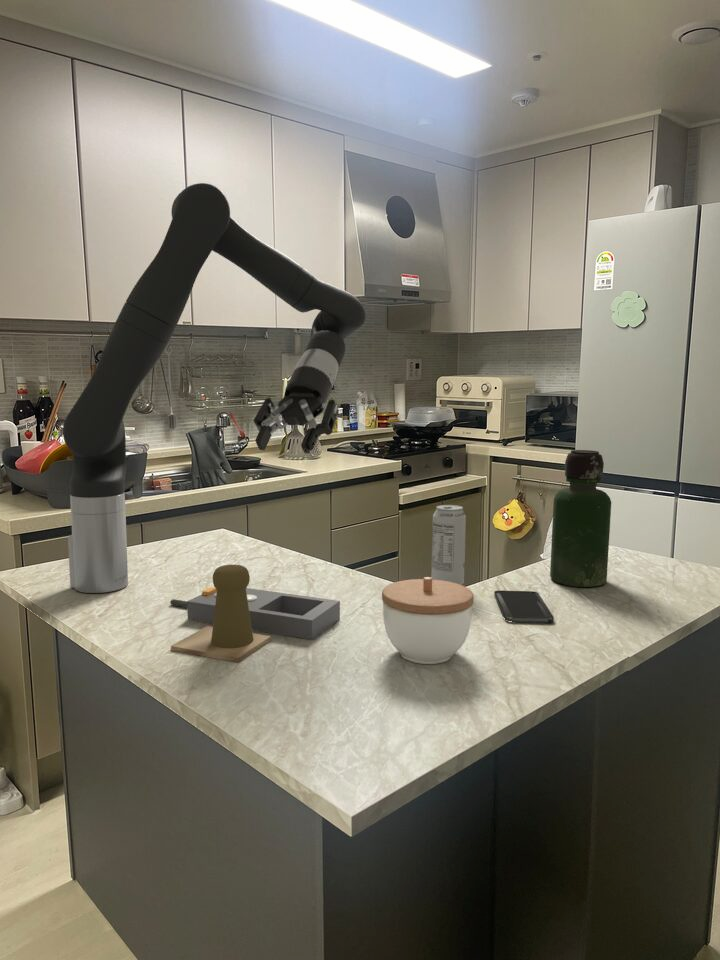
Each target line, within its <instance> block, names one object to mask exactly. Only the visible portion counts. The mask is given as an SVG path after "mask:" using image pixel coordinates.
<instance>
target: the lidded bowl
mask: <svg viewBox="0 0 720 960" xmlns="http://www.w3.org/2000/svg"><path fill="white" fill-rule="evenodd" d="M474 596H475V595H474V593H473V591H472V590H471V589H470V588H469V587H466V586H465V585H463V584H462V585H460V584H456V583H453V582H448V581H442V580H432V578H431V576H424V577H423V578H417V579H416V578H414V579H413V578H412V579H405V580H399V581H396V582H392V583H390V584H388V585H386V586H384V587H383V589H382V591H381V600H382V616H383V625H384V629H385V633H386V636H387V638H388V639H389V641H390V643H391V644H392V646H393V647H394V648H395V649H396V650H397V651H398V652H399V653H400V656H401V657H402V658H403V659H404V660H406V661H408V662H411V663H415V664H420V665H438V664H439V665H440V664H443V663H447V662H449V661H450V660H451V659H452V657H453V655H455V654H456V653H457V652H458V651H459V650H460V649H461V648H462V646H463V645H464V643H465V642H466V640H467V638H468V635H469V633H470V629H471V623H472V620H473V619H472V618H473V605H474Z"/></svg>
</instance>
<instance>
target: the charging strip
mask: <svg viewBox="0 0 720 960" xmlns="http://www.w3.org/2000/svg"><path fill="white" fill-rule="evenodd" d="M201 592H202V593H201V594H199V595H197V596H195V597H193V598H190V599H189V600H183V599H182V600H181V599H174V598H173V599H171V600H170V602H169V604H171V605H172V606H175V607H181V608H186V610H187V620H188V621H196V622H201V623H207V624H212V625H213V621H214V612H215V603H216V594H217V589H216V588H215V587H208V588H206V589H204V590H203V591H201ZM246 593H247V600H248V607H249V613H250V620H251V626H252V631H256V632H263V633H268V634H274V635H279V636H286V637H292V638H293V637H294V638H298V639H299V638H300V639H306V640H309V641H310V640H311V641H313V640H314V639H316V637H319V635H321V634H323V632H324V631H326V630H327V629H329V628H330V627H332V626H333V625H334V624H336V623H337V621H339V620H341V601H340V600H336V599H335V600H334V599H328V598H323V597H322V598H321V597H314V596H308V595H299V594H294V593H286V592H277V591H271V590H264V589H258V588H257V589H256V588H250V587H249V588H248V587H246Z"/></svg>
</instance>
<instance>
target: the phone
mask: <svg viewBox="0 0 720 960" xmlns="http://www.w3.org/2000/svg"><path fill="white" fill-rule="evenodd" d="M493 597H494V599H495V602H496V604H497V606H498V608H499V610H500V614H501V616H502V618H503V617H504V618H505V620H508V621H512V622H515V623H514V624H533V625H534V624H535V625H536V624H539V625H550V624H554V620H555V619H554V617H555V616H554V615H553V613H552V611H550V609H549V608H548V606H547V604H546V603H545V601H544V600H543V598H542V597H541V595H540V593H539V592H537V591H533V590H532V591H531V590H495V591H494V594H493ZM504 618H503V619H504ZM505 620H504V621H505Z"/></svg>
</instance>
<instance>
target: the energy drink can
mask: <svg viewBox="0 0 720 960" xmlns="http://www.w3.org/2000/svg"><path fill="white" fill-rule="evenodd" d="M466 522H467V516H466V514H465V511H464V507H463V506H461V505H456V504H441V505H436V509H435V511H434V513H433V514H432V532H431V533H432V537H431V540H432V541H431V572H430V573H431V576H430V577H431V578H432V580H442V581H448V582H453V583H456V584H460V585H462V586H463V584H464V583H465V560H466V558H465V557H466V524H467V523H466Z"/></svg>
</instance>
